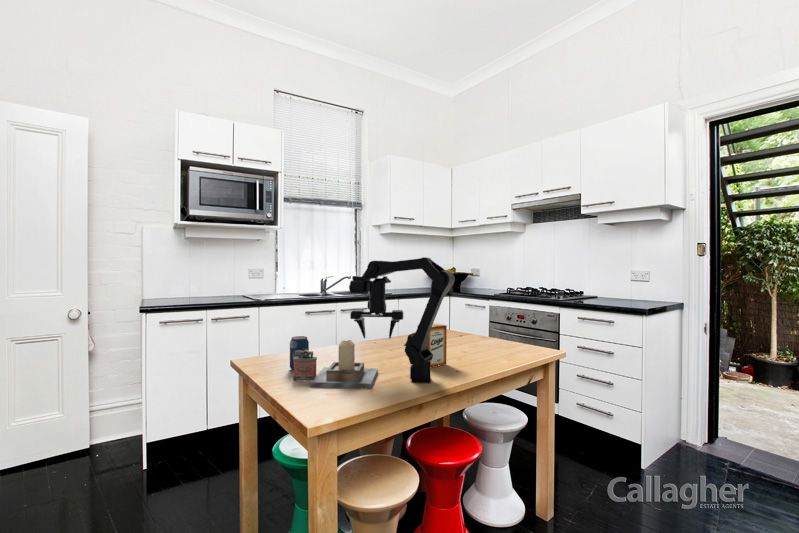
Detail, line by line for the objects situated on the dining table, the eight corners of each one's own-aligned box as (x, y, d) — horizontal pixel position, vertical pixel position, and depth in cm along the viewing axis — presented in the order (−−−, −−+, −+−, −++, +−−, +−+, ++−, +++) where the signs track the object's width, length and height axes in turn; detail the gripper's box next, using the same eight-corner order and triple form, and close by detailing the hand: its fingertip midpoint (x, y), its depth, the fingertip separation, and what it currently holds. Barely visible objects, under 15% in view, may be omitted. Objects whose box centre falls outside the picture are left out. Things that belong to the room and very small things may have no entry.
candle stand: (377, 372, 145) (377, 360, 145) (371, 388, 127) (371, 374, 127) (324, 371, 147) (324, 359, 147) (309, 386, 129) (310, 373, 129)
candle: (351, 366, 141) (352, 338, 141) (356, 370, 136) (356, 341, 136) (336, 367, 139) (336, 339, 138) (340, 371, 133) (341, 342, 133)
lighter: (317, 377, 139) (317, 349, 139) (315, 380, 135) (315, 351, 135) (294, 377, 138) (294, 349, 138) (292, 380, 135) (292, 351, 135)
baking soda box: (427, 368, 152) (427, 326, 151) (417, 364, 157) (417, 324, 157) (446, 364, 157) (446, 324, 157) (435, 361, 162) (436, 322, 162)
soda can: (293, 372, 144) (293, 340, 144) (287, 368, 150) (287, 337, 150) (311, 369, 148) (311, 338, 148) (304, 365, 154) (304, 335, 154)
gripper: (404, 293, 150) (404, 334, 151) (355, 293, 152) (355, 333, 152) (402, 296, 139) (402, 340, 139) (350, 295, 140) (350, 339, 141)
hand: (377, 338), depth 143 cm, fingers open, 9 cm apart
